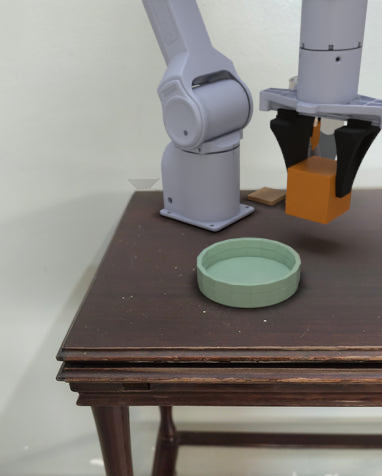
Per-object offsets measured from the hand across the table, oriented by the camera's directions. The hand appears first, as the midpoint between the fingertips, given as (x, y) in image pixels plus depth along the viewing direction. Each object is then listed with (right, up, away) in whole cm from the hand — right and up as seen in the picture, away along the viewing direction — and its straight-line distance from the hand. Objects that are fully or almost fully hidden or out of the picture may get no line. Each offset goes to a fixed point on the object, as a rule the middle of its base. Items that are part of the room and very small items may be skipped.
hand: (318, 189), depth 60 cm
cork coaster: (-3, +3, +16) cm, 17 cm away
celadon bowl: (-8, -10, -2) cm, 13 cm away
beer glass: (+2, +2, +14) cm, 14 cm away
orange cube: (0, -2, +1) cm, 2 cm away
